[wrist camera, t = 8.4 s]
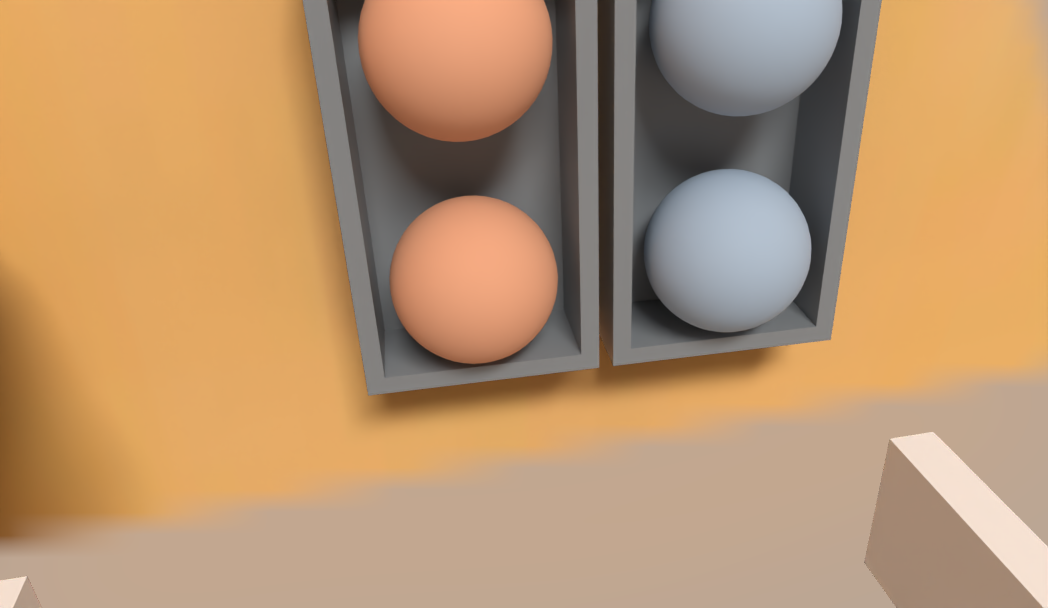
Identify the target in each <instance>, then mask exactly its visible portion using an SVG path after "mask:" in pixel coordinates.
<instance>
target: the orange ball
mask: <svg viewBox="0 0 1048 608" xmlns="http://www.w3.org/2000/svg"><path fill="white" fill-rule="evenodd" d="M389 281H390V293H391V297H392V302H393V305H394V308H395V310H396V313H397V315H398V317H399V319H400V321H401V323H402V325H403V326H404V327H405V329H406V330H407V331H408V333H409V334H410V335H411V336H412V337H413V338H414V339H415V340H416V341H417V342H418V343H419V344H420V345H422V346H423V347H424V348H425V349H427V350H429V351H430V352H432V353H434V354H436V355H438V356H440V357H442V358H445V359H448V360H451V361H454V362H460V363H470V364H477V363H487V362H493V361H496V360H500V359H503V358H505V357H508V356H510V355H512V354H514V353H516V352H518V351H519V350H521V349H522V348H523V347H525V346H526V345H527V344H528V343H530V342H531V341H532V340H533V339H534V338H535V337H536V335H537V334H538V333H539V332H540V331H541V330H542V328H543V327H544V325H545V324H546V322H547V320H548V318H549V316H550V314H551V312H552V309H553V306H554V303H555V300H556V294H557V286H558V272H557V265H556V261H555V257H554V253H553V250H552V248H551V245H550V243H549V241H548V240H547V238H546V236H545V234H544V233H543V231H542V230H541V229H540V227H539V226H538V225H537V224H536V222H534V221H533V220H532V219H531V218H530V217H529V216H528V215H527V214H526V213H524V212H523V211H521V210H520V209H519V208H517V207H515V206H513V205H511V204H509V203H507V202H505V201H502V200H499V199H496V198H491V197H487V196H477V195H473V196H461V197H455V198H451V199H448V200H445V201H442V202H440V203H438V204H436V205H434V206H432V207H430V208H429V209H427V210H426V211H424V212H423V213H422V214H420V215H419V216H418V217H417V218H416V219H415V220H414V221H413V222H412V223H411V224H410V225H409V226H408V227H407V229H406V230H405V231H404V233H403V235H402V236H401V238H400V240H399V242H398V244H397V246H396V248H395V251H394V253H393V257H392V262H391V266H390V276H389Z"/></svg>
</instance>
